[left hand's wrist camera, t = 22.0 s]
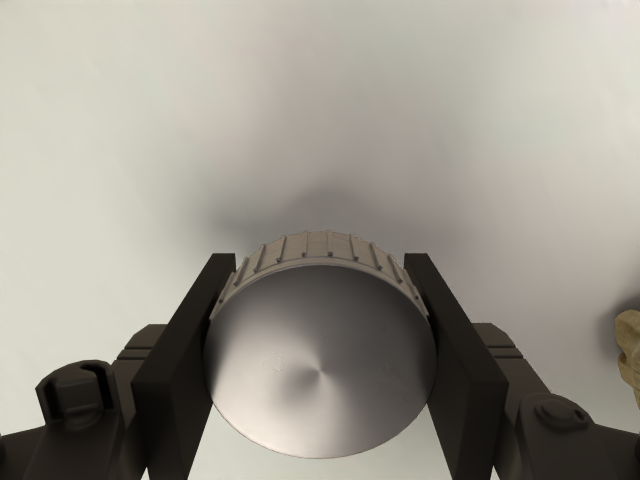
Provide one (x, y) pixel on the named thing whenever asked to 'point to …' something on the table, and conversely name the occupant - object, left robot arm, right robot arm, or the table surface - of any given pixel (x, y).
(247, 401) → the lid
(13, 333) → the table surface
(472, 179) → the table surface
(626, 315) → the sculpture
